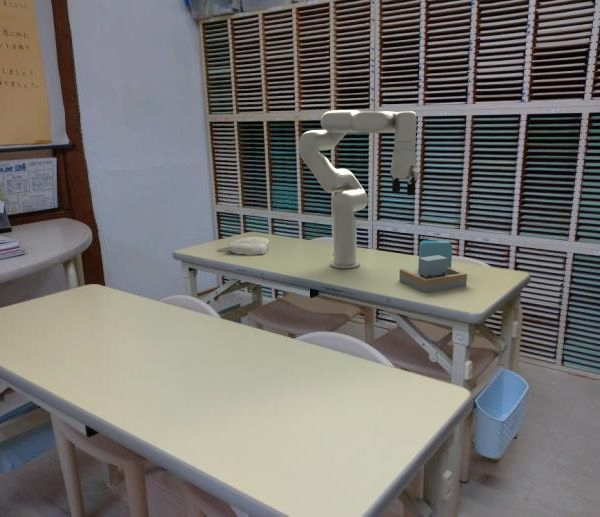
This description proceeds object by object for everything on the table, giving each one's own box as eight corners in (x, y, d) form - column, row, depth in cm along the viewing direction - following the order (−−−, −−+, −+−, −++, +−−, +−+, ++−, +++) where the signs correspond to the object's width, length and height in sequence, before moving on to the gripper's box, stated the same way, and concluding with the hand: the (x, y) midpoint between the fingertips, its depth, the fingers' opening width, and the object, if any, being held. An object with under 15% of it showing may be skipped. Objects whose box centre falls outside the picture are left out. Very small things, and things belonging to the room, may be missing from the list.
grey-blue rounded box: (417, 276, 185) (418, 257, 183) (437, 273, 188) (438, 254, 186) (426, 280, 180) (427, 261, 178) (447, 277, 183) (448, 258, 181)
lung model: (265, 255, 230) (213, 260, 233) (271, 247, 247) (222, 252, 250) (264, 241, 229) (211, 246, 231) (269, 234, 245) (220, 239, 248)
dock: (399, 280, 188) (399, 269, 187) (438, 274, 195) (438, 263, 194) (425, 292, 174) (425, 280, 173) (466, 285, 181) (467, 273, 180)
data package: (448, 269, 202) (450, 240, 199) (451, 272, 198) (452, 242, 195) (418, 269, 203) (419, 240, 200) (420, 272, 199) (421, 243, 196)
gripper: (383, 146, 188) (382, 191, 192) (409, 147, 173) (408, 196, 177) (400, 145, 191) (398, 190, 195) (427, 146, 175) (425, 195, 180)
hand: (403, 193), depth 186 cm, fingers open, 9 cm apart
